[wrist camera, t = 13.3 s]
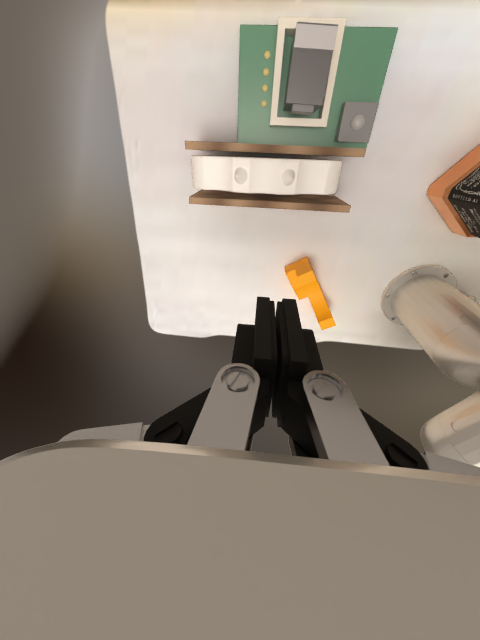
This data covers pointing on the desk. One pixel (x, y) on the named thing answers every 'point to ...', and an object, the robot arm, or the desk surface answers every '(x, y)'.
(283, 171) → the white curved piece
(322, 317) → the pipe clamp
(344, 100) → the board
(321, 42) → the plug
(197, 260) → the desk surface
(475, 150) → the whiskey bottle
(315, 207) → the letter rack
